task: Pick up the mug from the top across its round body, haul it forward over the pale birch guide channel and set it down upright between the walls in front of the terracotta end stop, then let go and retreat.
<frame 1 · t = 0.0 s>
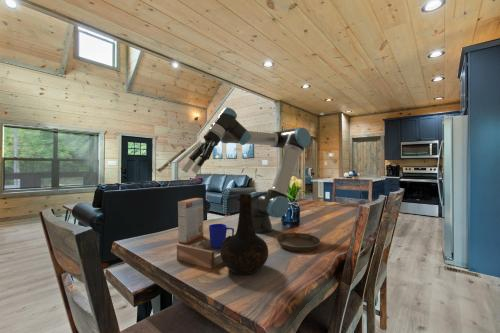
hand: (188, 171, 107), 36 cm above the table, tool tilted 35°, fingers open, 13 cm apart
channel: (207, 256, 101), on the table
plant saucer: (297, 246, 116), on the table
mug: (221, 247, 113), on the table
cracker box: (191, 239, 125), on the table
dark brown vase: (244, 269, 89), on the table
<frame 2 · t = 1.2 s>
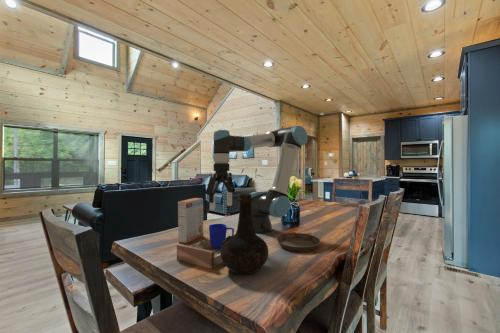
hand: (221, 207, 113), 19 cm above the table, tool pointing down, fingers open, 13 cm apart
nothing on the table moved.
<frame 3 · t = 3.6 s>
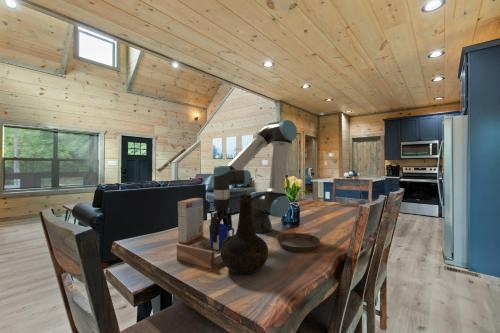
hand: (221, 246, 113), 0 cm above the table, tool pointing down, fingers open, 8 cm apart
mug: (221, 247, 114), on the table, touching gripper
everything else where it was.
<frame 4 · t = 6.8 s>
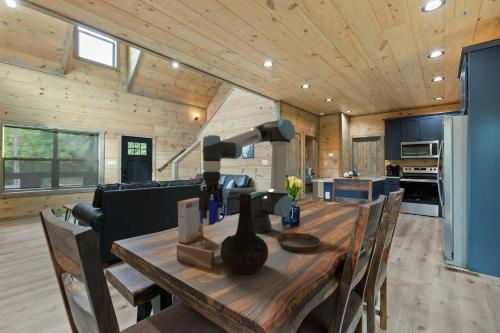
hand: (211, 224, 104), 13 cm above the table, tool pointing down, fingers closed on mug, 7 cm apart
mug: (212, 224, 104), point 13 cm above the table, touching gripper
everything else where it was.
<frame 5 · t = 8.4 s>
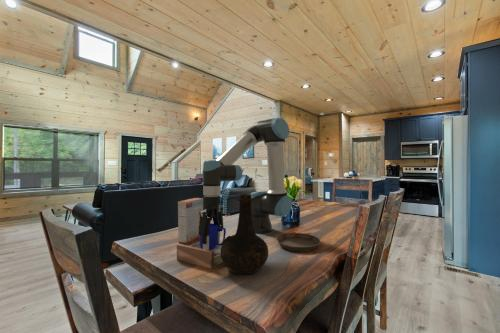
hand: (211, 248, 104), 3 cm above the table, tool pointing down, fingers closed on mug, 7 cm apart
mug: (212, 249, 104), point 2 cm above the table, touching gripper
everything else where it was.
when the fingers open (1 cm above the table, at t = 9.6 s): mug stays where it is, on the table.
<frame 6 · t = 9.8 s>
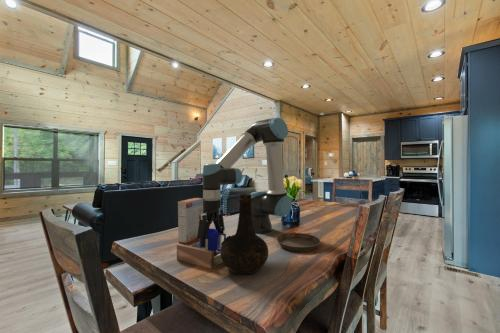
hand: (211, 251, 104), 1 cm above the table, tool pointing down, fingers open, 9 cm apart
mug: (212, 254, 104), on the table
everything else where it was.
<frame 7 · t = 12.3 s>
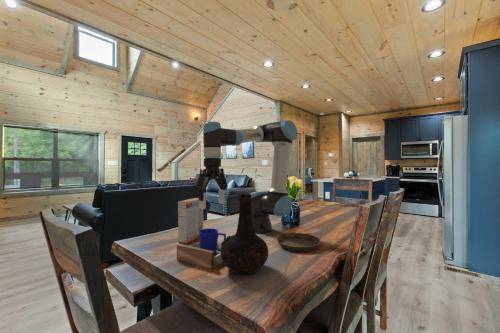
hand: (212, 206, 105), 21 cm above the table, tool pointing down, fingers open, 13 cm apart
nothing on the table moved.
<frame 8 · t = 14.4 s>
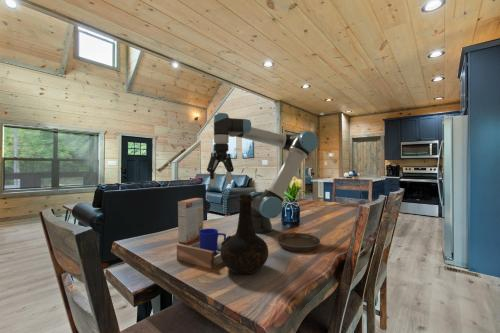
hand: (221, 184, 123), 29 cm above the table, tool pointing down, fingers open, 13 cm apart
nothing on the table moved.
at the end: mug inside the target area on the channel (2.4 cm from its centre), point 0.0 cm above the channel's base; mug tilted 0°; mug moved 9.6 cm from its start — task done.
